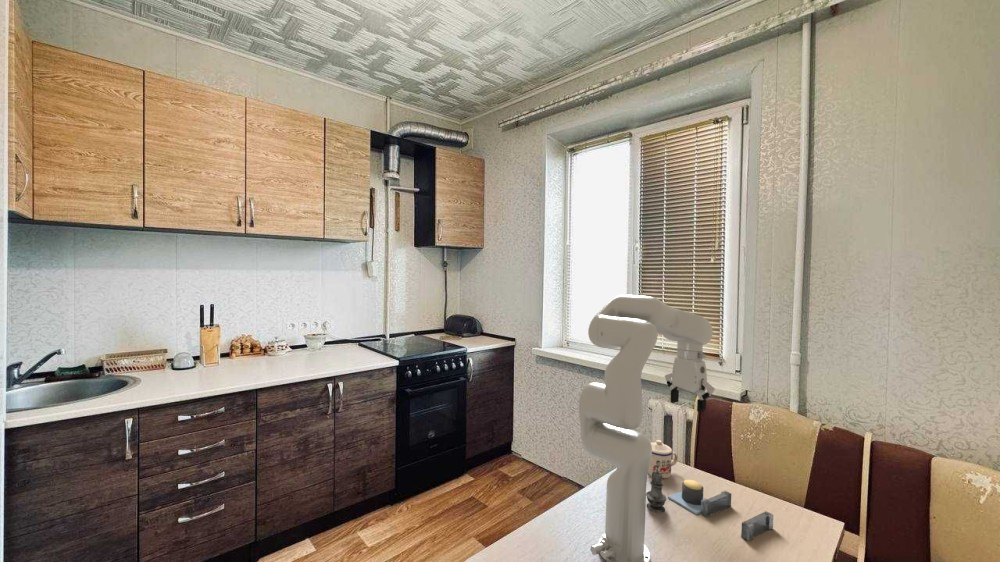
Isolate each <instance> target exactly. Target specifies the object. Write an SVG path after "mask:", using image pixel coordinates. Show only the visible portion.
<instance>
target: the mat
mask: <svg viewBox="0 0 1000 562" xmlns="http://www.w3.org/2000/svg"><path fill="white" fill-rule="evenodd" d="M667 499H669V500H671V501H673V502H674V503H676V504H677V505H679V506H681V507H682V508H684V509H686V510H687V511H689V512H690V513H692V514H694V515H695V516H698V515H700V514H701V505H693V504H689V503H687V502H685V501H684V500H683V499H682V490H681V491H677V492H674V493H673V494H670V495H667ZM703 499H707V498H706V497H705V496H703Z"/></svg>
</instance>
